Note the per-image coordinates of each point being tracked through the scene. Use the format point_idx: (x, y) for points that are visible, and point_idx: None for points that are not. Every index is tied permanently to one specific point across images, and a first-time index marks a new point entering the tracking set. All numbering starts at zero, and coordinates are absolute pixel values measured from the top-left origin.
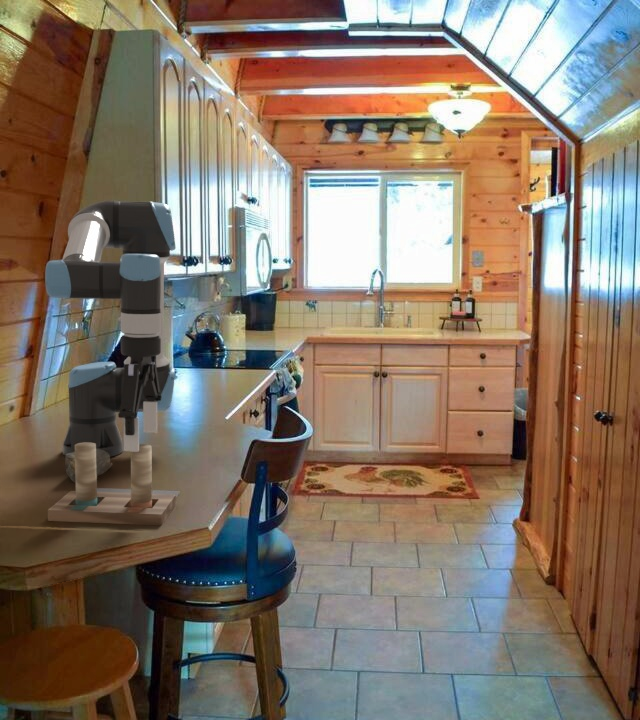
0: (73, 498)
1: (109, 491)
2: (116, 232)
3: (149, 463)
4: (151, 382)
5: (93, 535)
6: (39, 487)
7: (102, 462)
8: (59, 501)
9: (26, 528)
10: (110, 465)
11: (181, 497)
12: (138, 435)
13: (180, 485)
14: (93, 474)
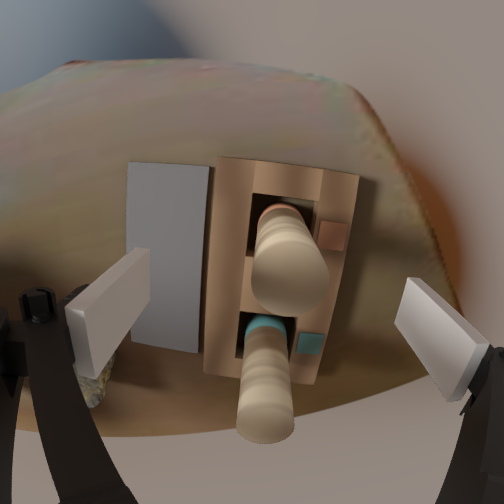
0: None
1: (146, 307)
2: None
3: (305, 233)
4: (117, 471)
5: (381, 291)
6: (140, 405)
7: None
8: None
9: (333, 388)
10: None
11: (158, 154)
12: (440, 302)
13: (84, 173)
14: (279, 361)
